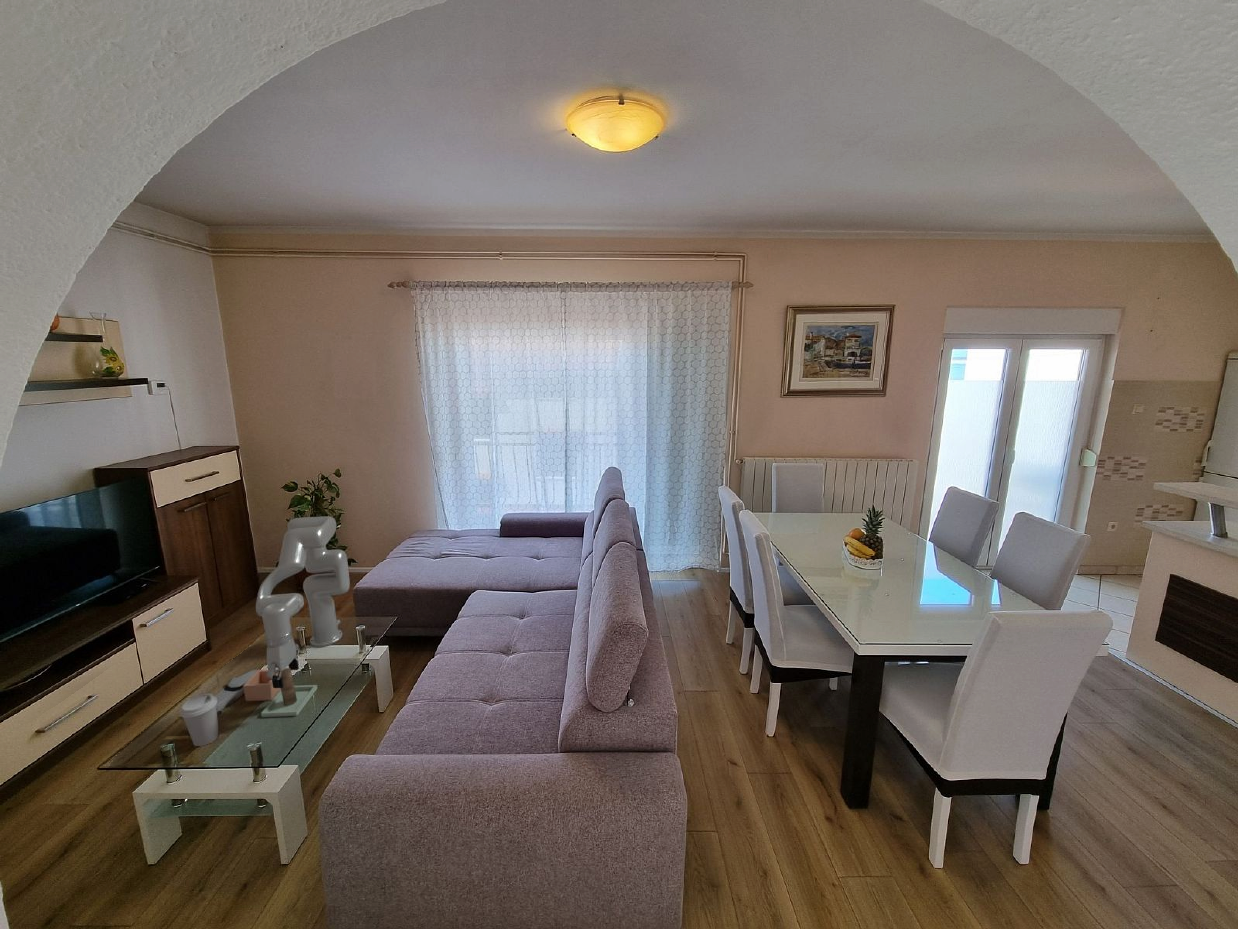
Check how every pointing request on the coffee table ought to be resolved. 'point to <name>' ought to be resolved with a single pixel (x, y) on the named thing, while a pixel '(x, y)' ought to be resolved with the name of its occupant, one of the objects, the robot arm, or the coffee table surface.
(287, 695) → the peg
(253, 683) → the pink storage bin
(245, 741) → the coffee table surface
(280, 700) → the tray
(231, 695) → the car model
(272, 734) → the coffee table surface
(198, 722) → the coffee cup
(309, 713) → the coffee table surface
